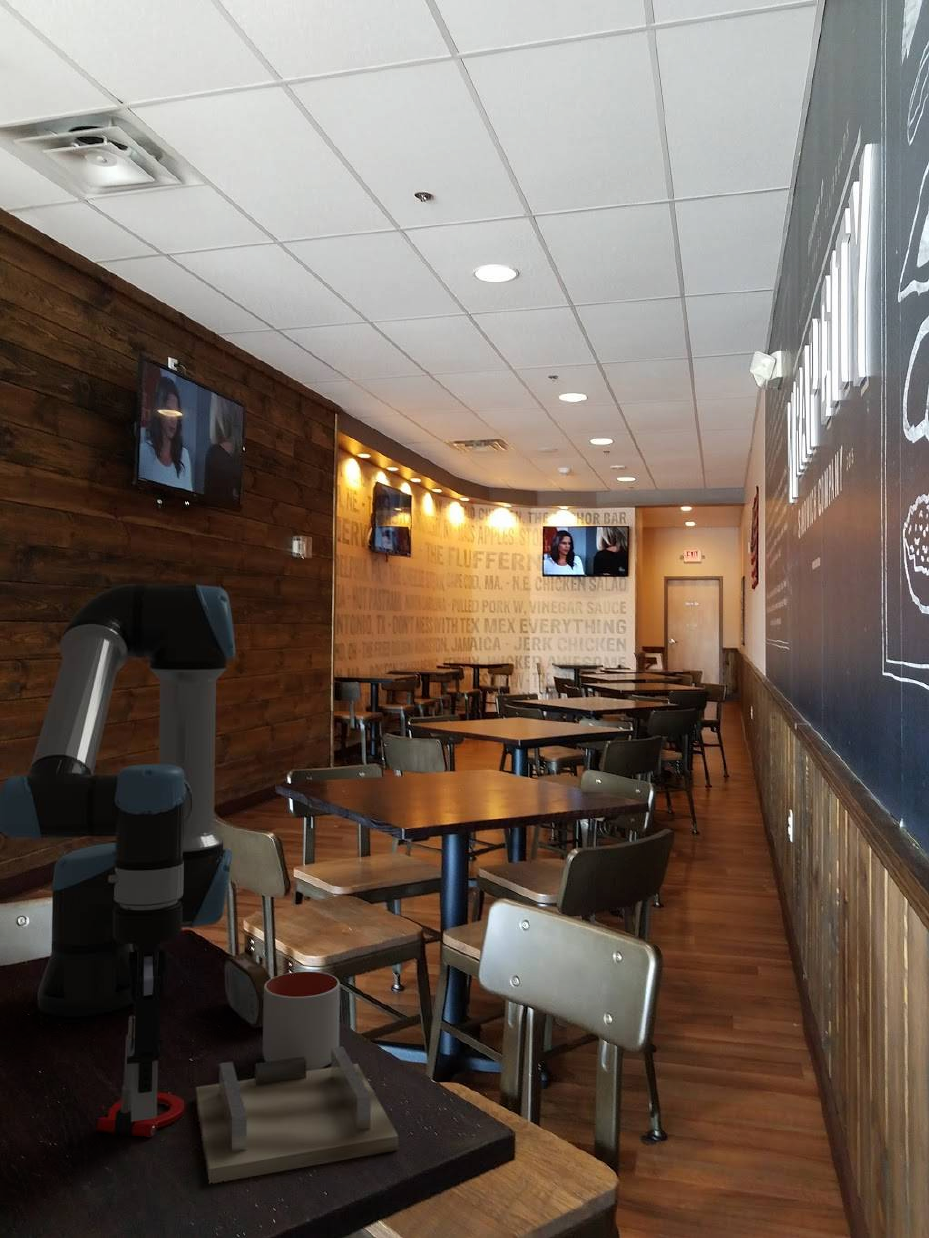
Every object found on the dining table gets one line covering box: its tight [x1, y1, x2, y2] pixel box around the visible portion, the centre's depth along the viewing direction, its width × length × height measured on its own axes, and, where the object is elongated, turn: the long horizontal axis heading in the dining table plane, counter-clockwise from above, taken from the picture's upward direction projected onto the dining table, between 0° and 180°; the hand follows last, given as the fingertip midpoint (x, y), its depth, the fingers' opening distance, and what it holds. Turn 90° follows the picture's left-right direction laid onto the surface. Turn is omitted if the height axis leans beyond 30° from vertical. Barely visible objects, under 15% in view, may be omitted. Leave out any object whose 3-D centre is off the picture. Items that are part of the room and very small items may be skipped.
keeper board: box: [195, 1063, 399, 1185], centre depth 107 cm, size 19×20×2 cm
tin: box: [223, 952, 272, 1029], centre depth 138 cm, size 15×3×8 cm, turn 34°
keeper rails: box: [218, 1045, 371, 1152], centre depth 108 cm, size 16×15×4 cm
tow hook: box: [96, 1014, 186, 1138], centre depth 109 cm, size 8×13×9 cm
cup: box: [262, 971, 341, 1071], centre depth 124 cm, size 10×10×10 cm
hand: (143, 1112), depth 106 cm, fingers open, 2 cm apart
